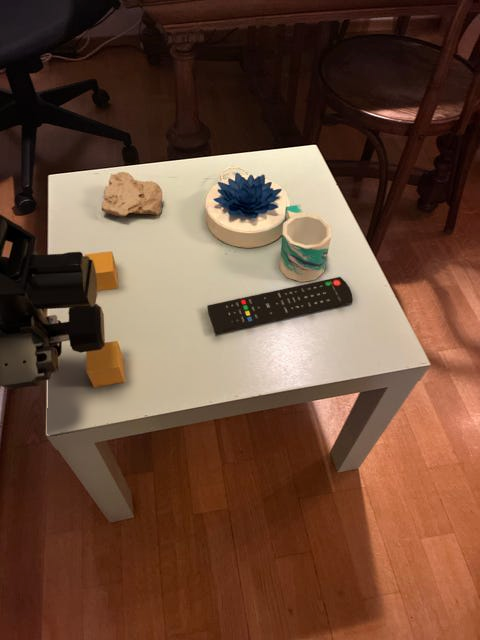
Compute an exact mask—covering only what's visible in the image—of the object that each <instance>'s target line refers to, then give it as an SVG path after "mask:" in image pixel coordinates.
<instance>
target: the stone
mask: <svg viewBox="0 0 480 640" xmlns="http://www.w3.org/2000/svg"><path fill="white" fill-rule="evenodd" d="M162 202H163V190H162V188H161V186H160V185H159V184H158V183H157V182H154V181H152V180H146V181H141V180H136V179H135V178H134V177H133V176H132V174H130V173H129V172H125V171H120V172H119V171H118V172H117V173H113V174H112V173H111V174H110V176H109V179H108V185H107V186H106V187H105V188H104V191H103V202H102V204H101V211H102V212H103V213H106V214H109V215H114V216H116V217H121V218H122V217H126V216H127V215H128V214H139V215H140V214H141V215H156V216H158V215H161V212H162Z"/></svg>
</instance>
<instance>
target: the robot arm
mask: <svg viewBox="0 0 480 640" xmlns="http://www.w3.org/2000/svg"><path fill="white" fill-rule="evenodd" d="M37 241H38V237H37V236H35V235H34V234H32V233H31V232H29V231H28V230H26V229H25V228H24V227H23V226H21V225H19V224H17V223H15V222H13V221H12V220H10V219H9V218H7V217H5V216H4V215H2V214H1V213H0V387H2V388H5V389H8V390H17V389H23V388H29V387H38V386H40V385H42V384H43V383H44V382H45V381H50V380H51V379H52V374H56V373H58V372H59V370H60V364H59V357H60V356H61V355H62V352H63V344H62V343H63V342H68V341H69V344H70V345H69V346H70V347H71V350H72V351H73V352H77V353H79V354H81V353H86V352H89V351H95V350H101V349H102V348H103V347H104V346H105V343H106V337H105V335H106V334H105V314H104V311H103V309H102V306H100V304H98V303H97V297H98V291H97V278H96V271H95V266H94V262H93V260H91V259H90V258H89V257H88V256H85V255H84V254H83V252H81V251H69V252H63V253H47V254H39V253H38V252H37V249H36V245H37ZM6 242H9V243H11V247H10V252H9V255H8V256H4V255H3V253H4V250H5V246H6ZM52 309H53V310H54V309H68V321H63V322H62V321H61V320H59V319H58V316H57V314H52V315H47V310H52Z"/></svg>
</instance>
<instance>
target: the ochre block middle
mask: <svg viewBox="0 0 480 640" xmlns="http://www.w3.org/2000/svg"><path fill="white" fill-rule="evenodd" d="M84 256H88V257H89V258H90V259H91V260H93V262H94V266H95V271H96V278H97V292H101V291H108V290H109V291H110V290H117V289H119V280H118V267H117V265H116V260H115V257H114V254H113V251H112V250H110V251H101V252H94V253H93V252H92V253H86V254H84Z"/></svg>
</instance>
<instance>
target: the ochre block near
mask: <svg viewBox="0 0 480 640" xmlns="http://www.w3.org/2000/svg"><path fill="white" fill-rule="evenodd" d="M85 355H86V357H85V358H86V359H85V360H86V362H85V365H86V374H87V376H88V378H89V380H90V382H91V384H92V386H93V387H95V388H96V387H102V386H108V385H114V384H121V383H125V368H124V356H123V352H122V350H121V346H120V344H119V341H118V340H113V341H107V342H106V341H105V346H104V347H103V348H102V349H101V350H95V351H89V352H85Z"/></svg>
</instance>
